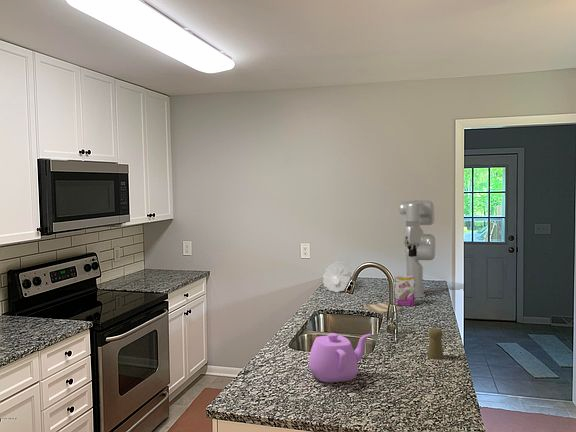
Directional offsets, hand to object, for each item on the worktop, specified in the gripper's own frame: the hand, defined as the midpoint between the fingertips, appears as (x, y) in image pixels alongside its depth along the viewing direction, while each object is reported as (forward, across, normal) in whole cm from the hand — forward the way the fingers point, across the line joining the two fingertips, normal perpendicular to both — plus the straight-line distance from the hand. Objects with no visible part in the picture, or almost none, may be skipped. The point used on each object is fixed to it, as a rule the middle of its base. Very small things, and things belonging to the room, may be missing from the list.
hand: (412, 256), depth 274 cm
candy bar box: (+27, +7, 0) cm, 28 cm away
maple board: (+27, +24, 0) cm, 36 cm away
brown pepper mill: (+27, +61, +64) cm, 93 cm away
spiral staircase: (+27, +10, -54) cm, 62 cm away
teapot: (+27, +105, +55) cm, 122 cm away
